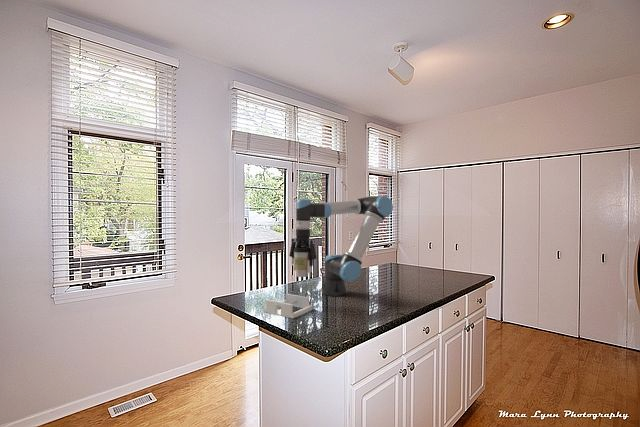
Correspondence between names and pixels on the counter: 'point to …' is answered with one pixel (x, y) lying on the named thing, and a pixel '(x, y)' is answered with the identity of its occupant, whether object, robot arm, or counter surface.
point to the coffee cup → (301, 261)
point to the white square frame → (285, 308)
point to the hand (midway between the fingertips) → (302, 271)
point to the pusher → (297, 301)
